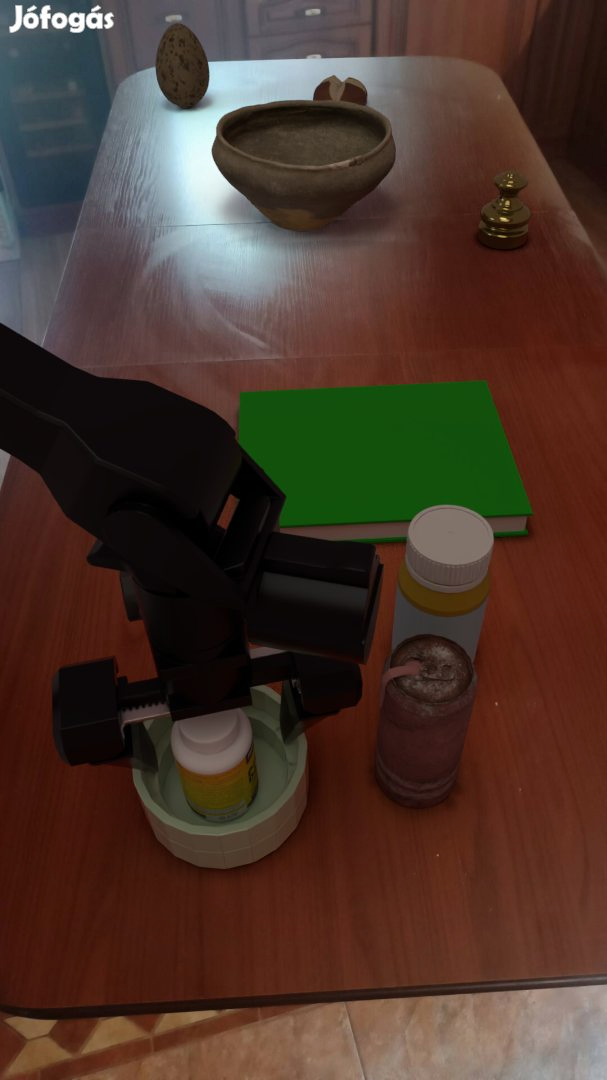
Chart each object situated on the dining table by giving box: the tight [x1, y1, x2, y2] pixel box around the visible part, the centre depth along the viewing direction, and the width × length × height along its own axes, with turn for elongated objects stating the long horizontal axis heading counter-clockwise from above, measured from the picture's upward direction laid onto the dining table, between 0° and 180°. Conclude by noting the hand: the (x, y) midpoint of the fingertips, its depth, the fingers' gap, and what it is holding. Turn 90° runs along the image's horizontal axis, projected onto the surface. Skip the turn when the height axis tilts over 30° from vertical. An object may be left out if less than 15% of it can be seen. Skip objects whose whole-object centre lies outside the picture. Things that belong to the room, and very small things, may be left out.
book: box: [237, 379, 534, 544], centre depth 85 cm, size 22×28×3 cm
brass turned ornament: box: [477, 169, 532, 250], centre depth 118 cm, size 7×7×10 cm
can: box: [374, 633, 479, 809], centre depth 56 cm, size 6×6×14 cm
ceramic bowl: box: [131, 684, 310, 870], centre depth 58 cm, size 12×12×6 cm
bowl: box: [211, 99, 397, 232], centre depth 124 cm, size 28×28×14 cm
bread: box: [312, 74, 368, 107], centre depth 163 cm, size 11×11×5 cm
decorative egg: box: [154, 22, 211, 109], centre depth 162 cm, size 11×11×15 cm
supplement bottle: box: [171, 708, 258, 822], centre depth 56 cm, size 6×6×10 cm
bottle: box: [391, 505, 495, 664], centre depth 63 cm, size 7×7×15 cm
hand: (221, 752), depth 56 cm, fingers open, 9 cm apart
